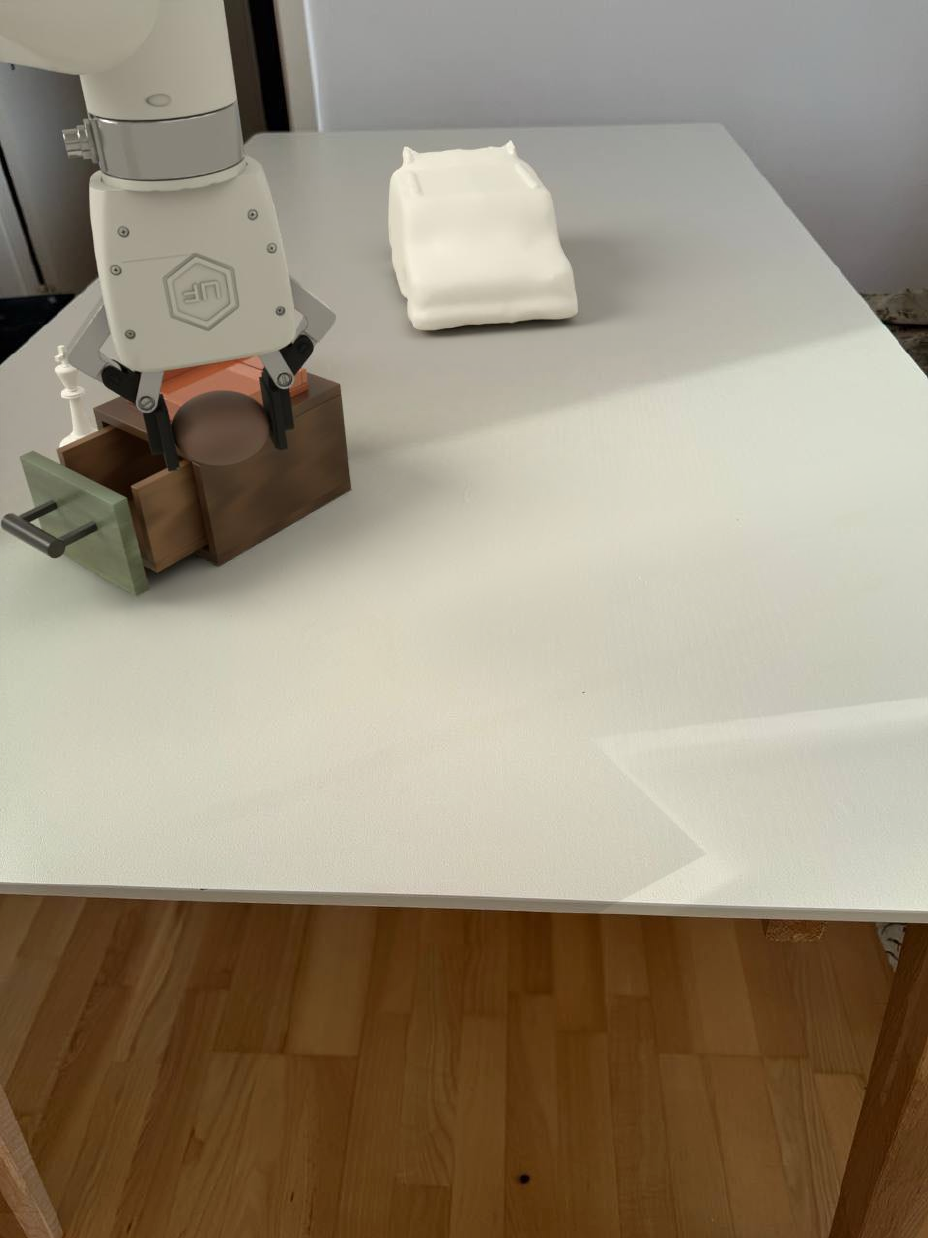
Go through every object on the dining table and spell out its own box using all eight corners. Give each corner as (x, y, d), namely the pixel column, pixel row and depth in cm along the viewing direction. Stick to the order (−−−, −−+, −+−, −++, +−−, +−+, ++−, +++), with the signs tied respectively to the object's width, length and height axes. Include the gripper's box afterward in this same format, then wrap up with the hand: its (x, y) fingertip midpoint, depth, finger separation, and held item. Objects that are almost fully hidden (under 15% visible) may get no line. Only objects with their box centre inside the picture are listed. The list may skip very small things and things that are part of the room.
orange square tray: (210, 437, 81) (206, 415, 80) (126, 401, 87) (121, 380, 86) (308, 389, 88) (306, 368, 87) (225, 358, 93) (221, 338, 92)
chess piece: (48, 456, 100) (19, 353, 94) (82, 432, 104) (56, 332, 98) (92, 465, 99) (65, 361, 93) (125, 440, 102) (101, 339, 96)
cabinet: (219, 566, 85) (197, 454, 79) (119, 514, 92) (92, 407, 86) (351, 489, 94) (340, 383, 88) (251, 446, 101) (235, 345, 95)
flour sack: (530, 239, 145) (531, 132, 137) (582, 326, 121) (587, 201, 113) (386, 251, 143) (378, 142, 135) (411, 341, 119) (403, 215, 111)
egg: (289, 463, 67) (280, 403, 65) (196, 490, 65) (183, 429, 62) (253, 426, 71) (244, 367, 69) (164, 449, 69) (152, 390, 67)
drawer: (88, 624, 78) (60, 530, 73) (-2, 568, 84) (-32, 478, 79) (273, 518, 89) (259, 431, 84) (181, 476, 95) (164, 392, 90)
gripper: (-3, 181, 52) (86, 508, 63) (349, 140, 56) (375, 452, 67) (-5, 144, 58) (77, 449, 68) (314, 109, 62) (344, 401, 73)
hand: (224, 448), depth 68 cm, fingers closed on egg, 6 cm apart
